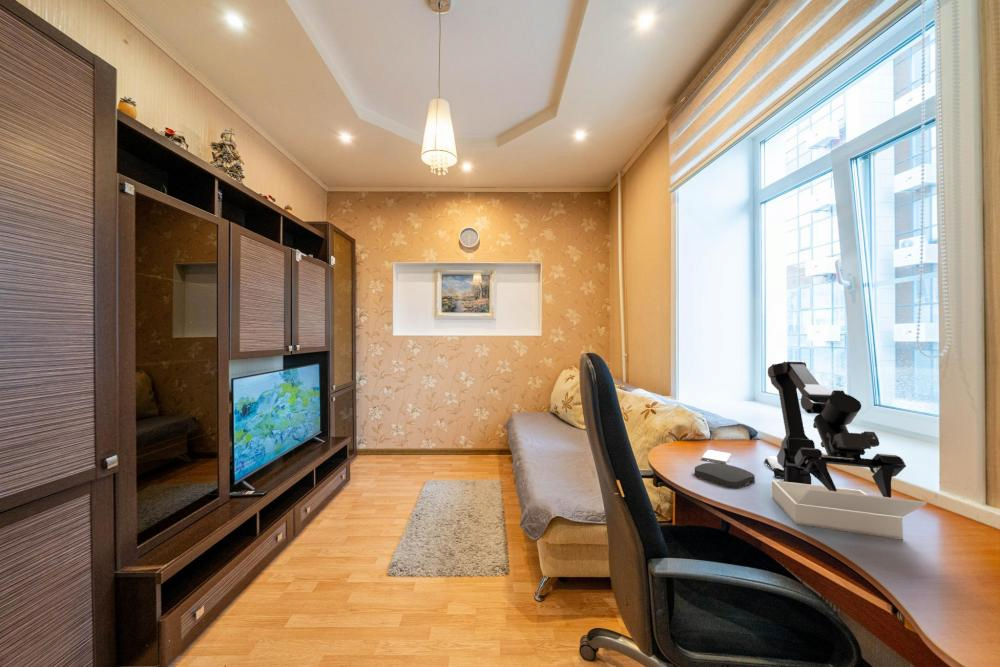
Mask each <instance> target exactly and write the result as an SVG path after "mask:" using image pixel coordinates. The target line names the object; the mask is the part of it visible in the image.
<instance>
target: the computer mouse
mask: <svg viewBox="0 0 1000 667" xmlns="http://www.w3.org/2000/svg"><path fill="white" fill-rule="evenodd" d="M763 463H765V464H767V465H769V466H770V467H771V468H772V469H773V470H772V469H771V468H770V467H769V466H768V467H769V468H770V469H771V470H772V471H773V476H774V477H775V476H777V478H780V477H784V467H782V466H781V465H780V464H779V463H778V460H777V456H776V455H771V456H770V455H769V456H767V457H766V458H765V459H764V461H763ZM765 464H764V465H765ZM767 465H766V466H767Z"/></svg>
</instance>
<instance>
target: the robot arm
mask: <svg viewBox="0 0 1000 667" xmlns="http://www.w3.org/2000/svg"><path fill="white" fill-rule="evenodd" d="M767 375H768V377H769V378H770V382H771V385H772V386H773V387H774V388H775V389H776V390H777V391H778V395H779V401H780V406H781V412H782V418H783V424H784V429H785V436H784V438H783V439H782V441H781V445H780V446H781V448H780V450H779V451H778V453H777V460H778V463H779V464H780V465H781V466H782V467H784V478H783V480H782V481H783V482H792V483H801V484H810V485H812V476H813V477H814V478H816V479H817V480H818V482H820V483H821V484H822V486H825V487H826V488H827V489H828V490H829V491H837V490H836V485H835V483H834V480H833V478H832V477H831V475H830V472H829V470H828V466H827V464H828V465H837V466H839V465H840V466H849V467H858V468H861V467H862V468H869V470H870V472H871V473H872V474H873V475H872V476H871V477H872V479H873V481H874V482H875V484H876V486H877V489H878V490H879V492H880V493H881V495H882V497H889V498H892V478H893V477H896V476H898V475H899V474H900V473H901V472H902V471H903V470H904V469H905V468H906V467H907V465H906V463H905V461H904V460H903V458H902V457H900V456H898V455H897V454H887V453H876V454H875V455H874V456H873V457H872V458H864V457H863V458H862V457H861V456H864V455H865V454H866V451H865V450H871V449H872V448H875V447H879V446H880V440H879V437H878V436H877V434H876V433H875V431H863V432H862V431H861V433H857V432H849V430H848V427H847V425H850V424H851V423H852V422H853V421H854V419H855V418H856V417H857V414H858V413H859V412H860V411H861V408H862V404H861V401H860V400H859V399H857V398H855V397H854V396H852V395H850V394H847V393H845V391H844V390H843V389H842V390H841V389H840V390H838V389H837V390H836V389H834V390H831V389H829V388H826V387H824V386H822V385H820V383H819V382H818V380H816V378H815V377H814V375H813V374H812V372H810V370H809V369H808V367H807V364H806V362H805V361H802V360H787V361H786V360H785V361H783V362H780V363H773V364H772V365H770V366H768V369H767ZM797 389H798V390H797ZM798 391H799V392H800V394H801V398H800V401H799V395H798ZM800 405H801V406H800ZM801 408H802V409H803V410H804V411H805V412H806V413H807V414H811V415H812V414H813V415H814V414H815V415H816V416H815V417H814V418H813V425H812V427H813V428H814V429H817V432H818V435H819V438H820V439H821V442H820V446H821V448H824V449H825V452H826V454H823V453H822V449H819V448H816V445H815V441H814V440H812V439H810V438H809V437H808V436H807V435H806V434H805V427H804V422H803V416H802V412H801Z"/></svg>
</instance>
